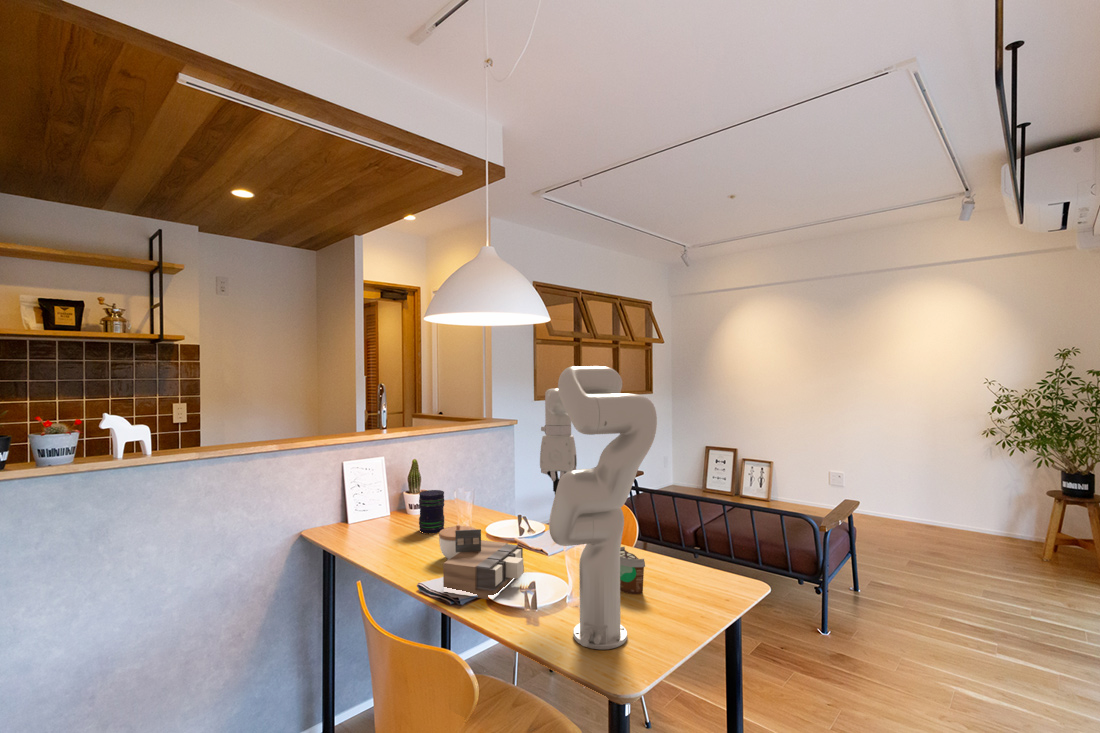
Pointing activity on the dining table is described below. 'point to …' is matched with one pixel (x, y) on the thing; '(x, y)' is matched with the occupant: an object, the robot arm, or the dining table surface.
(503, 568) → the console
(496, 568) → the button
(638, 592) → the food container
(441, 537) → the lidded bowl
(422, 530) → the storage jar
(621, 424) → the robot arm
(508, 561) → the button mid
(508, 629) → the dining table surface
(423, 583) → the dining table surface
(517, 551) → the button
